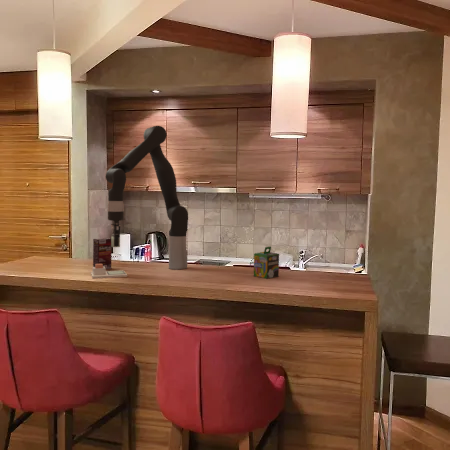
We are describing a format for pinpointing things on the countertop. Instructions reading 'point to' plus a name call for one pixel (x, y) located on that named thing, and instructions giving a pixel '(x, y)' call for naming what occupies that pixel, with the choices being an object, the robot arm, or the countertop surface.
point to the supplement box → (102, 252)
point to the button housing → (99, 271)
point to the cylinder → (113, 241)
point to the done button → (98, 265)
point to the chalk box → (266, 264)
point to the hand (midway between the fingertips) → (115, 245)
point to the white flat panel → (110, 274)
